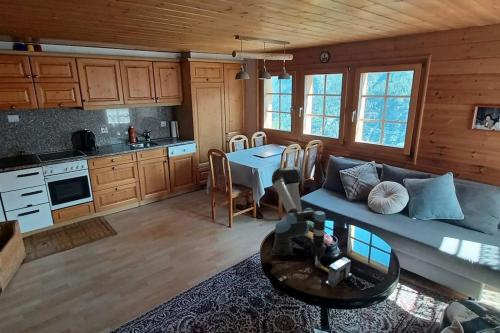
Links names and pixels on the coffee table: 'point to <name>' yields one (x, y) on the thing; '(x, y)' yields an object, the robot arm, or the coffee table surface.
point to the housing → (338, 271)
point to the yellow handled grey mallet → (328, 271)
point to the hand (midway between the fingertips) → (317, 264)
